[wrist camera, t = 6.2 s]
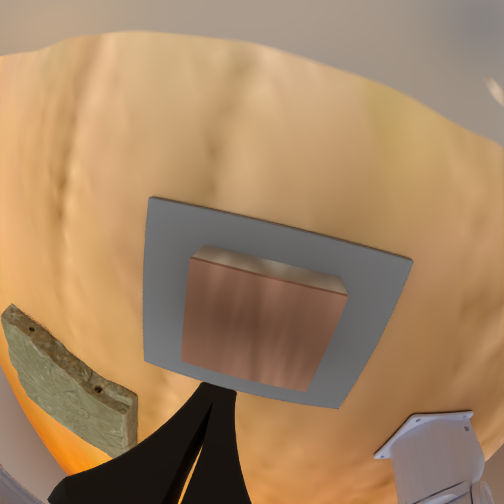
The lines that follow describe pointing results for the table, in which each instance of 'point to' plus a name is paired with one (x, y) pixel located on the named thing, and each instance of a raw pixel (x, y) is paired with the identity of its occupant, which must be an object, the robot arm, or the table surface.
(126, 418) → the decorative tile
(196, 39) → the table surface
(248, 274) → the slab
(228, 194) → the table surface
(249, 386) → the mat
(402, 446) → the robot arm
